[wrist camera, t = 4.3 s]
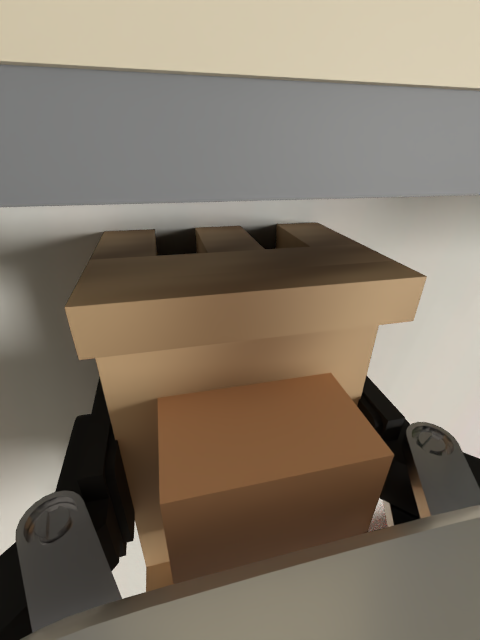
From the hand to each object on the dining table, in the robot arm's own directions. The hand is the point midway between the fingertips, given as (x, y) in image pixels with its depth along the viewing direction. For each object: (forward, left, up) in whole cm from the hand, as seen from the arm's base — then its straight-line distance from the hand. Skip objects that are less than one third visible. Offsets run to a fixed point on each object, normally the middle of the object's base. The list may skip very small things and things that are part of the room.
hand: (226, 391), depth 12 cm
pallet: (0, 0, -1) cm, 1 cm away
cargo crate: (0, 0, +3) cm, 3 cm away
